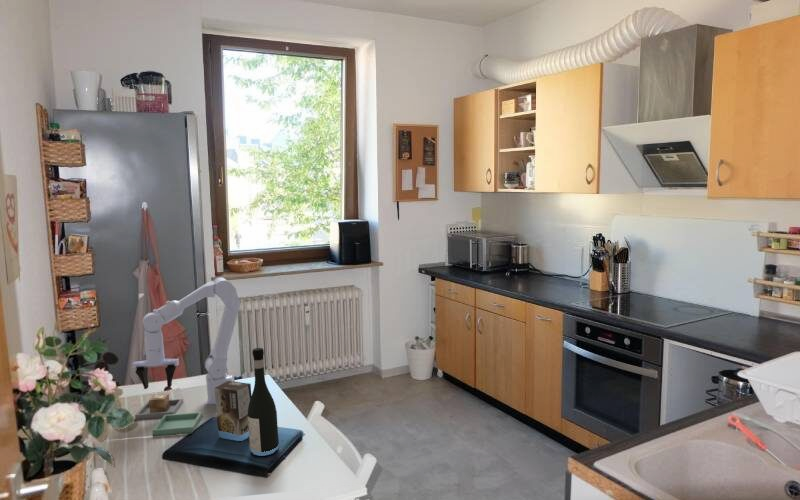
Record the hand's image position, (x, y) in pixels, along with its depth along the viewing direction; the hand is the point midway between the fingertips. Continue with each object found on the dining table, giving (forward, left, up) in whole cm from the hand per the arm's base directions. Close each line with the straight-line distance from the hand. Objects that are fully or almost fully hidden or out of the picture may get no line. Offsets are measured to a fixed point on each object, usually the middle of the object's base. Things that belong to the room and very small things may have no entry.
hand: (158, 387), depth 188 cm
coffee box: (-30, +25, -9) cm, 40 cm away
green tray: (-10, +14, -9) cm, 19 cm away
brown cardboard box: (0, 0, -8) cm, 8 cm away
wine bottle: (-40, +37, -9) cm, 55 cm away
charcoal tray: (0, 0, -9) cm, 9 cm away
